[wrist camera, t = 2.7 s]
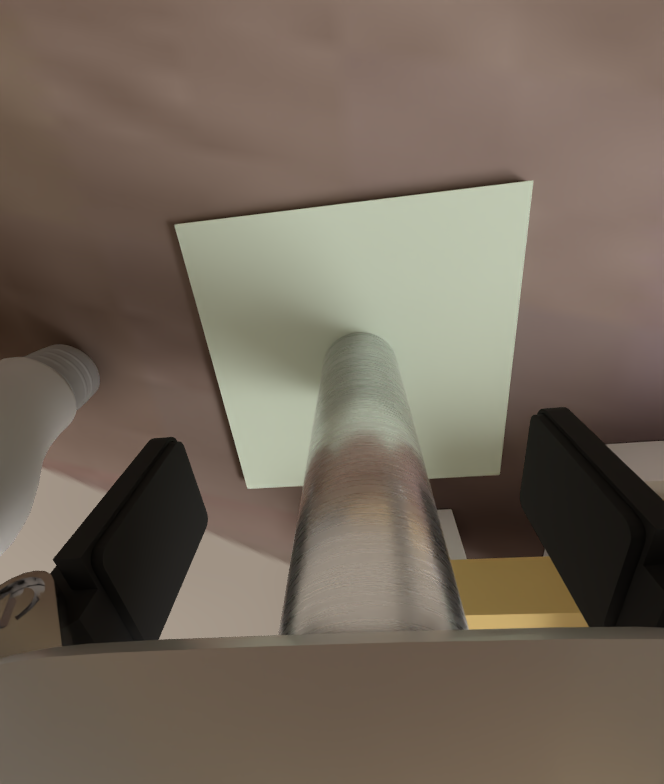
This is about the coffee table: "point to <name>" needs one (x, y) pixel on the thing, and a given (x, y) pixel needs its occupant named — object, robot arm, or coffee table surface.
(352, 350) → the steel pin
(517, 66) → the coffee table surface
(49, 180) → the coffee table surface
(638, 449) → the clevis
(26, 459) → the lightbulb
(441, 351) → the pin mat
